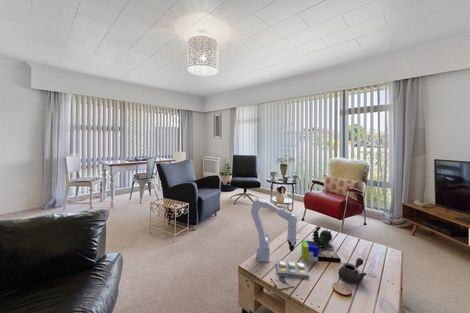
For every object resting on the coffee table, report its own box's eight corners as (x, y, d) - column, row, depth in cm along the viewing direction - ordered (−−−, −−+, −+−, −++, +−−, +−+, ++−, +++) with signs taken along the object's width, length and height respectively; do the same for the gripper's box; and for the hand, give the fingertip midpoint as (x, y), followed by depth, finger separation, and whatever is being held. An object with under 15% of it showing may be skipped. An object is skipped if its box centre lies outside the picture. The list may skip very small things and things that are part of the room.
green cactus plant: (320, 254, 161) (336, 242, 176) (320, 231, 159) (336, 221, 174) (309, 249, 168) (325, 238, 184) (309, 227, 166) (325, 217, 181)
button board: (277, 275, 131) (277, 272, 131) (276, 262, 145) (276, 259, 145) (309, 278, 128) (309, 275, 128) (304, 265, 142) (304, 262, 142)
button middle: (289, 267, 137) (289, 265, 137) (288, 264, 140) (288, 262, 140) (294, 268, 136) (294, 265, 136) (294, 265, 140) (294, 262, 140)
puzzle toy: (317, 261, 148) (318, 248, 147) (303, 259, 150) (303, 246, 149) (315, 254, 157) (315, 241, 157) (301, 252, 159) (302, 240, 159)
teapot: (362, 290, 118) (363, 273, 118) (334, 277, 130) (335, 262, 130) (372, 277, 131) (373, 262, 130) (346, 266, 142) (347, 252, 142)
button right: (298, 268, 136) (298, 266, 136) (297, 265, 139) (297, 262, 139) (304, 269, 135) (304, 266, 135) (303, 265, 139) (303, 263, 139)
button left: (279, 266, 138) (280, 264, 137) (279, 263, 141) (279, 261, 141) (285, 267, 137) (285, 264, 137) (285, 264, 141) (285, 261, 140)
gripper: (299, 236, 135) (299, 256, 136) (296, 227, 150) (295, 246, 150) (288, 235, 136) (288, 255, 137) (286, 227, 151) (285, 245, 151)
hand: (291, 250), depth 144 cm, fingers closed
